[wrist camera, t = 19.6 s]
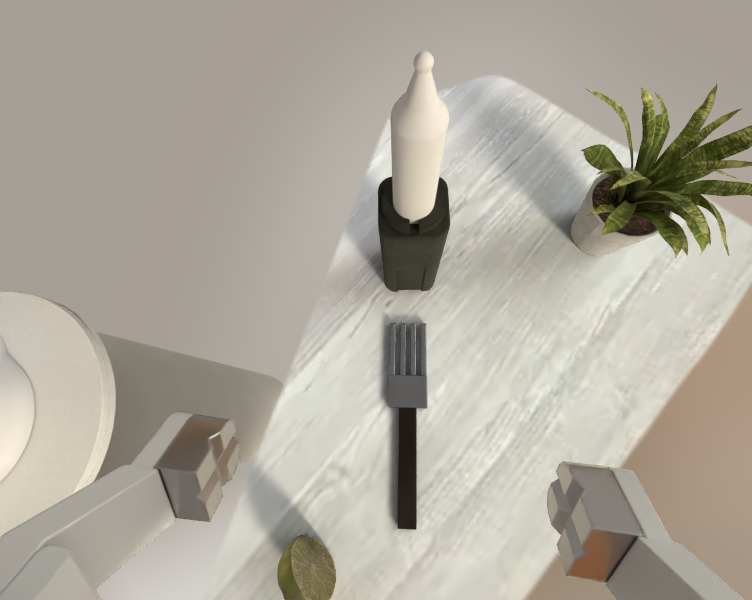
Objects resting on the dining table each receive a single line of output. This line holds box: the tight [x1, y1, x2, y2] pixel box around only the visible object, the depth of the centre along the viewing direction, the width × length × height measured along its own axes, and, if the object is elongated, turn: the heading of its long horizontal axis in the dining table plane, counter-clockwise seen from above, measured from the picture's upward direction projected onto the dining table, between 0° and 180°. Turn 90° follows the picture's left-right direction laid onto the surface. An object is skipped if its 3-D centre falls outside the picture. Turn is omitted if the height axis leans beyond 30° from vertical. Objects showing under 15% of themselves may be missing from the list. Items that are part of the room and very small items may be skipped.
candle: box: [378, 51, 450, 292], centre depth 28 cm, size 5×5×25 cm
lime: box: [278, 534, 336, 600], centre depth 30 cm, size 4×5×5 cm
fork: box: [388, 323, 427, 530], centre depth 35 cm, size 4×18×1 cm, turn 178°
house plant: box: [570, 84, 752, 259], centre depth 32 cm, size 14×14×16 cm
